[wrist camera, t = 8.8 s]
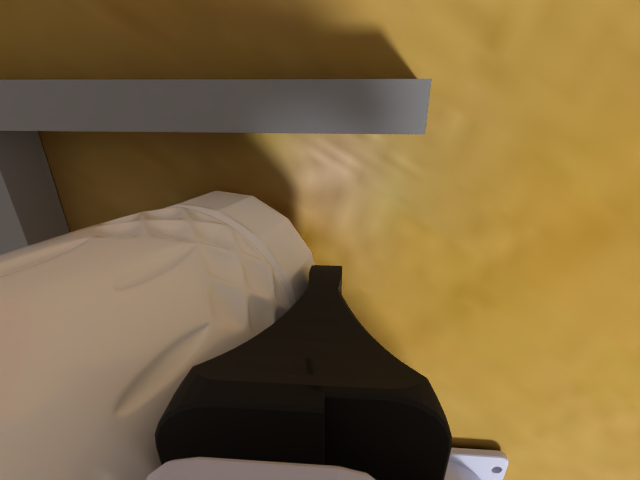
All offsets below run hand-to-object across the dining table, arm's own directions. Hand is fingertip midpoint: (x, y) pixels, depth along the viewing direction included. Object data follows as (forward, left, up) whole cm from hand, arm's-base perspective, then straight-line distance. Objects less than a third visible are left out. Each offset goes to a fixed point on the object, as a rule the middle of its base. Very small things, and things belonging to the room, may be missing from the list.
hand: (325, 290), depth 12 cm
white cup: (0, +3, -2) cm, 4 cm away
